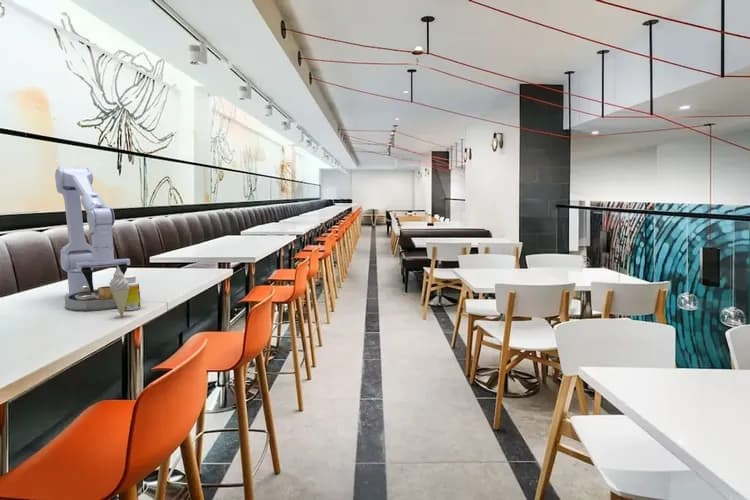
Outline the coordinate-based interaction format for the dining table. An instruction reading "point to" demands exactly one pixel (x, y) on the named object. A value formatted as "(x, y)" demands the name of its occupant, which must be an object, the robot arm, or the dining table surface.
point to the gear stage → (87, 300)
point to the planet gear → (104, 293)
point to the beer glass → (132, 294)
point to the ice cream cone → (119, 289)
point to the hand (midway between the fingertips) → (105, 289)
